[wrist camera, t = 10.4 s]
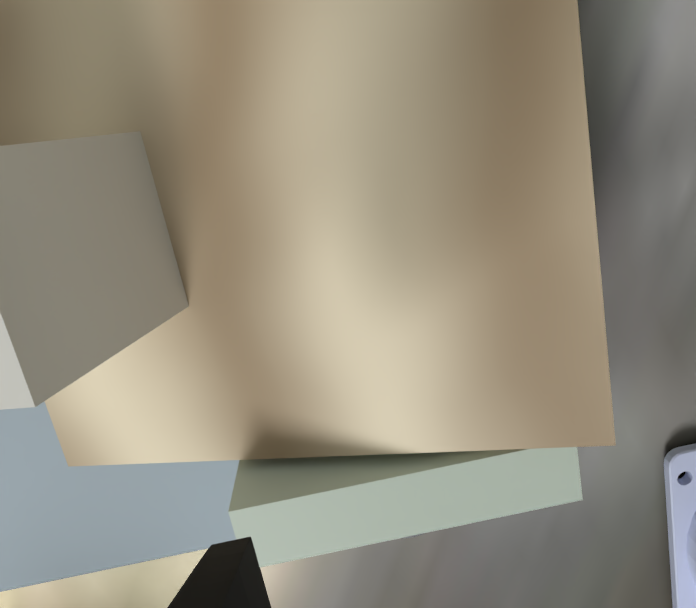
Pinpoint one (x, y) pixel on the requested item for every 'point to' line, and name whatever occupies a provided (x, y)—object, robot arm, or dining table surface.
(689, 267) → the dining table surface
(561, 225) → the flap
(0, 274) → the light grey block
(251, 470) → the flap stand
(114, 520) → the mat
